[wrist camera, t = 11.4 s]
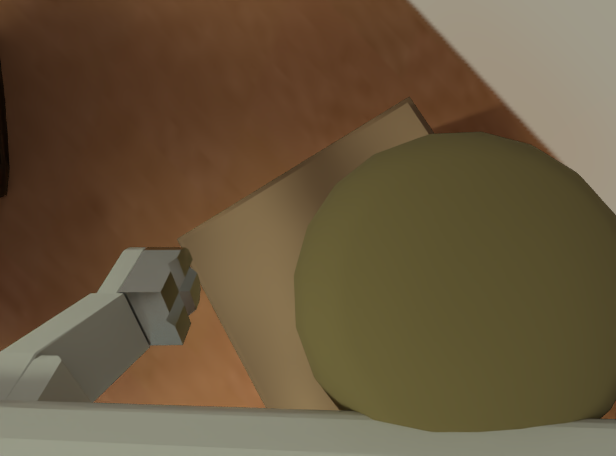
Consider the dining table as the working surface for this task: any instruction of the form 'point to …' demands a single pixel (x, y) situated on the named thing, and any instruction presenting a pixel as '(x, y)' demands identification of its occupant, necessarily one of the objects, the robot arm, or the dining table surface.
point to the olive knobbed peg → (461, 288)
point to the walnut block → (282, 258)
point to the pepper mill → (3, 142)
